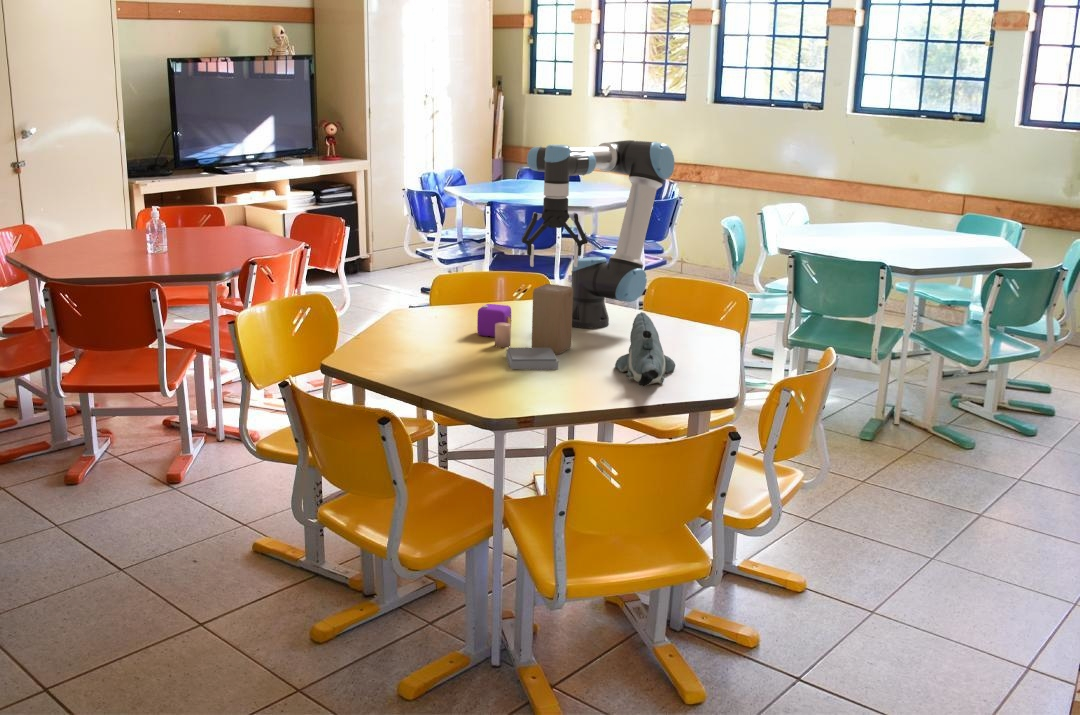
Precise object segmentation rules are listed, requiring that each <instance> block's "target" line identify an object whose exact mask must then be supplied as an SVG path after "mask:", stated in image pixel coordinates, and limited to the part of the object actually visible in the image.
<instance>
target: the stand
mask: <svg viewBox="0 0 1080 715" xmlns="http://www.w3.org/2000/svg"><path fill="white" fill-rule="evenodd" d="M505 349H506V353H505V354H506V356H505V357H506V360H507V363H508V367H509V369H510V368H511V369H532V370H558V369H559V360H558V359H557V357H556V354H554V352H553V350H552V349H551V348H532V347H508V348H505ZM511 369H510V370H511Z"/></svg>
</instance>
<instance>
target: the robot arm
mask: <svg viewBox="0 0 1080 715" xmlns="http://www.w3.org/2000/svg"><path fill="white" fill-rule="evenodd" d="M674 156H675V155H674V153H673V150H672V149H671V147H670V146H669V145H668V144H666V143H662V142H657V141H643V140H630V139H629V140H627V139H626V140H619V141H612V142H610V141H609V142H602V143H600V144H599V145H593V146H592V145H591V146H590V145H589V146H588V145H587V146H585V145H584V146H569V145H567V144H548V145H547V146H546V147H544V146H534V147H532V148H530V149H529V150H528V153H527V156H526V157H527V158H526V163H527V166H528V167H529V169H530V170H532V171H536V172H539V173H540V172H541V173H542V172H543V173H544V182H543V183H544V184H543V185H544V186H543V196H544V197H543V202H542V203H543V204H542V205H543V206H542V207H543V208H542V213H538V212H536V211H533V212H532V216H531V219H530V222H529V224H528V225H527V228H526V230H525V231H524V233H523V236H522V237H521V239H520V240H521V242H522V243H523V244H526V255H527V256H529V265H530V267H532V268H533V267H534V266H535V265H534V264H535V263H534V259H535V245H534V244H533V243H534V242H535V241H536V240H537V239H538V238H539V237H540V235H541V234H542V233H543V232H544V231H545V230H546V229H547V228H550V229H553V228H557V229H560V228H564V229H565V231H566V232H567V233H568V234H569V235H570V236H571V238H572V239H573V240H574V241H575V244H574V246H573V249H574V251H573V262H572V267H571V284H570V285H571V286H570V287H572V288H573V308H572V328H573V327H574V328H580V329H598V328H599V329H600V328H606V327H608V326H609V324H610V322H609V320H610V318H609V313H608V311H607V307H606V303H605V300H606V299H609V300H615V301H618V302H621V303H622V302H626V303H632V302H635V301H637V300H638V298H640V297H641V296H642V295H643V293H644V291H645V289H646V286H647V283H648V282H647V280H648V278H647V273H646V271H645V270H644V269H643V268H644V263H643V261H642V260H641V257H642V253H643V248H644V244H645V241H646V236H647V231H648V229H649V223H650V219H651V216H652V215H651V214H652V210H653V207H654V202H655V199H656V195H657V191H658V190H659V189H660V188H662V187H663V184H664V180H668V179H669V178H671V176H672V175H673V173H674V170H675V157H674ZM595 170H599V171H602V172H611V173H616V174H623V175H626V176H627V175H628V180H629V182H630V183H631V187H630V191H629V194H628V199H627V202H626V206H625V212H624V216H623V219H622V223H621V224H622V225H621V226H620V227H621V229H620V233H619V237H618V240H617V245H616V249H615V253H613V254H612V255H611V256H610V257H609V258H608V259H609V260H608V261H607V258H606V257H604V256H591V257H590V256H589V257H581V258H579V257H580V256H581V255H582V246H583V245H586V244H588V242H589V241H588V239H587V237H586V234H585V232H584V229H583V228H582V225H581V223H580V221H579V214H578V213H576V212H573V213H569V198H568V197H569V195H570V194H569V193H570V192H569V190H570V188H569V187H570V177H572V176H586V175H590V174H592V173H593V172H594V171H595ZM540 218H541V219H542V220H543V222H542V223H541V225H540V226H539V227H538V228H537V230H535V232H533V229H534V227H536V226H535V225H536V224H537V221H539V220H540ZM569 218H570V219H571V221H573V222H574V226H575V227H576V230H577V231H578V234H579V236H580V238H581V239H579V237H578V236H577V234H575V232H574V231H573V230H572V228H570V226H569V225H568V224H567V221H568V220H569ZM532 232H533V234H532V235H531V233H532ZM529 237H530V238H529Z"/></svg>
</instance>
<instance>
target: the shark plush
mask: <svg viewBox="0 0 1080 715" xmlns="http://www.w3.org/2000/svg"><path fill="white" fill-rule="evenodd" d="M629 342H630V345H629V348H628V353H626V354H623V355H621V356H619V357H618V358H617V360H616V361H615V363H614V366H615V369H617V368H618V370H619V371H620V372H622V373H623V372H627V373H626V374H625V375H626V377H627V379H631V380H632V379H633V380H634V381H635V382H637V383H638V385H639V386H641V387H647V386H648V385H652V384H656V383H657V384H660V385H661V384H663V383H664V381H665V377H664V375H666V374H665V373H667V374H668V373H669V372H673V371H675V369H676V363H675V361H674V360H673V359H671V357H669V356H667V355H665V354H664V350H663V347H662V344H661V341H660V336H659V332H658V331H657V328H656V326H655V324H654V322H653V320H652V319H651V318H650V316H648V315H647V314H646V313H645V312H643V311H640V313H639V312H638V313H637V314H636V316H635V317H634V320H633V323H632V328H631V332H630V339H629Z"/></svg>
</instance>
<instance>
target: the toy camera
mask: <svg viewBox="0 0 1080 715" xmlns="http://www.w3.org/2000/svg"><path fill="white" fill-rule="evenodd" d="M476 321H477V323H476V324H477V326H476V328H477V334H478V335H479V336H481V337H488V336H490V337H492V338H495V324H496V323H509V324H511V325H512V307H511V306H510V305H504V304H495V303H494V304H493V303H486V304H484V305H482V306H481V307H480V308H478V310H477V320H476Z"/></svg>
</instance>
